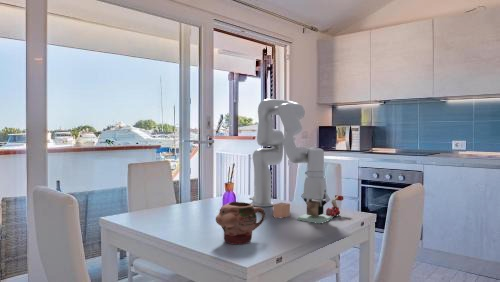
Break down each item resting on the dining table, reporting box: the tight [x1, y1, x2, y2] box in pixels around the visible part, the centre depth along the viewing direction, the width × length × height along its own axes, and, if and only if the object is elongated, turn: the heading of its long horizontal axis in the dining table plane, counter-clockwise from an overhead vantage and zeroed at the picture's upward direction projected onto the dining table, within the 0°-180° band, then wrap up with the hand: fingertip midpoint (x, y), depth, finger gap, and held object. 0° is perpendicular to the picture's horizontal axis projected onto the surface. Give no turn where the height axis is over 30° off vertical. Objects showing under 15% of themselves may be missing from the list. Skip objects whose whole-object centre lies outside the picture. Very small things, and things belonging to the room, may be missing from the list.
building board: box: [296, 213, 334, 224], centre depth 174 cm, size 12×12×2 cm
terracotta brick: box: [272, 202, 291, 219], centre depth 181 cm, size 5×7×6 cm
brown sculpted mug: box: [215, 201, 266, 245], centre depth 139 cm, size 20×12×14 cm, turn 121°
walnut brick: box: [306, 199, 325, 216], centre depth 174 cm, size 5×7×6 cm
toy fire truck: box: [325, 194, 344, 218], centre depth 182 cm, size 3×14×10 cm, turn 143°
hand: (315, 213), depth 174 cm, fingers closed on walnut brick, 5 cm apart
